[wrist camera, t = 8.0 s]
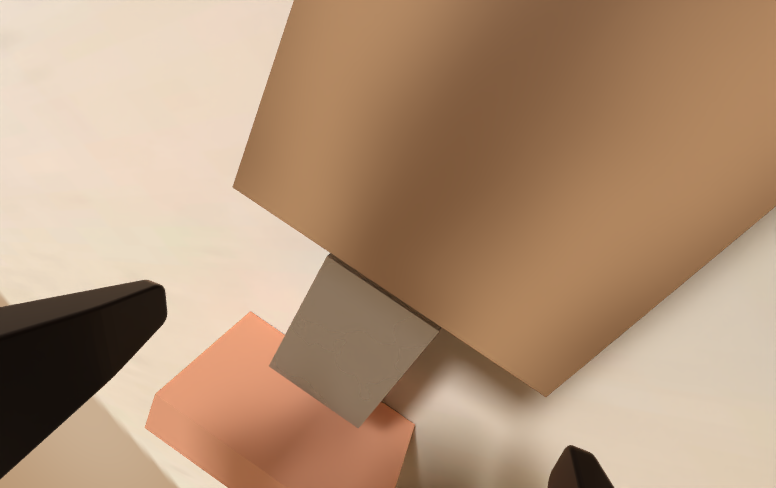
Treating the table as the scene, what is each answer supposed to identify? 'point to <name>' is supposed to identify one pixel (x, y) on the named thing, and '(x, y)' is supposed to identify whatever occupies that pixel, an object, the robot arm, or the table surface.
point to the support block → (351, 341)
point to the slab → (521, 157)
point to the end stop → (271, 422)
